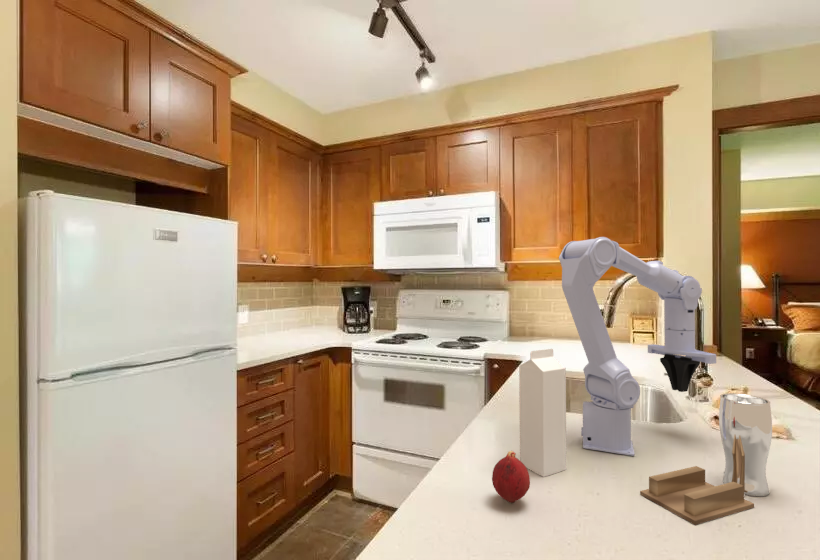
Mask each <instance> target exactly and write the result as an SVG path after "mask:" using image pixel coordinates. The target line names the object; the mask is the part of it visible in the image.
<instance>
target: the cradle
mask: <svg viewBox="0 0 820 560" xmlns="http://www.w3.org/2000/svg"><path fill="white" fill-rule="evenodd" d="M639 495H640V496H642V497H644V498H646V499H647V500H649V501H651V502H652V503H654V504H656V505H658V506H659V507H662V508H663V509H665V510H667V511H669V512H671V513H672V514H674V515H676V516H678V517H680V518H681V519H683V520H685V521H687V522H689V523H690V524H692V525H693V526H697V525H700V524H703V523H707V522H711V521H713V520H717V519H719V518H723V517H727V516H729V515H734V514H737V513H740V512H745V511H747V510H750V509H753V508H755V503H754V502H751V501H750V500H748V499H745V494H744V486H743V485H740V484H738V483H736V482H730V483H726V484H723V483H722V484H719V485H713V484H712V483H708V481H707V482H706V469H704V468H702V467H700V466H697V465H695V466H691V467H686V468H681V469H676V470H673V471H669V472H663V473H660V474H655V475H652V476H651V475H650V476H649V477H648V488H647V489H642V490H640V491H639Z"/></svg>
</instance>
